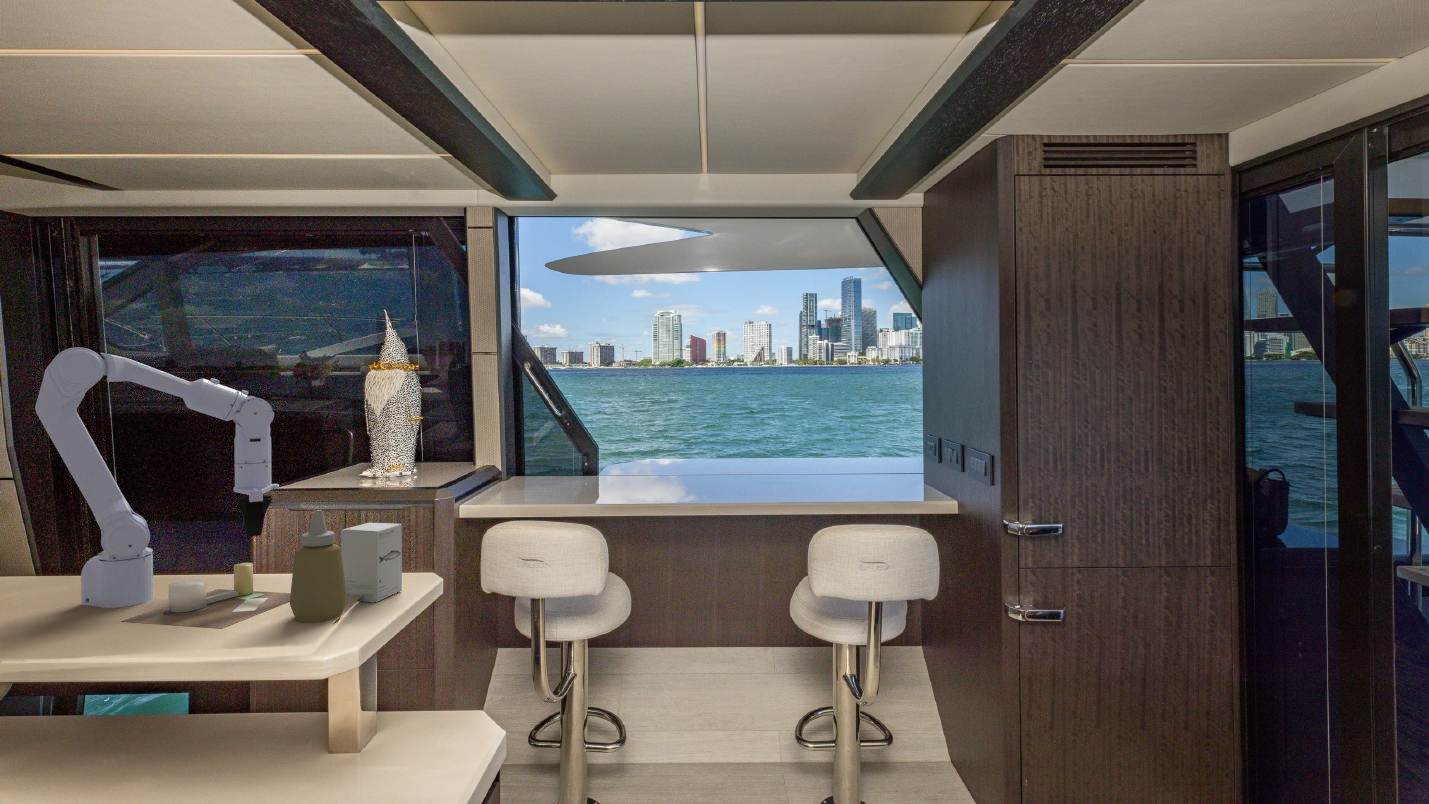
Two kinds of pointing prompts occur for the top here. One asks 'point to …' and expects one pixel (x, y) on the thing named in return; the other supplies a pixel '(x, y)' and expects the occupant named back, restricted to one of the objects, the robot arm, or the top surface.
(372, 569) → the supplement box
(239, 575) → the peg lever
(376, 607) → the top surface
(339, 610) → the squeeze bottle
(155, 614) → the brown flat square board
